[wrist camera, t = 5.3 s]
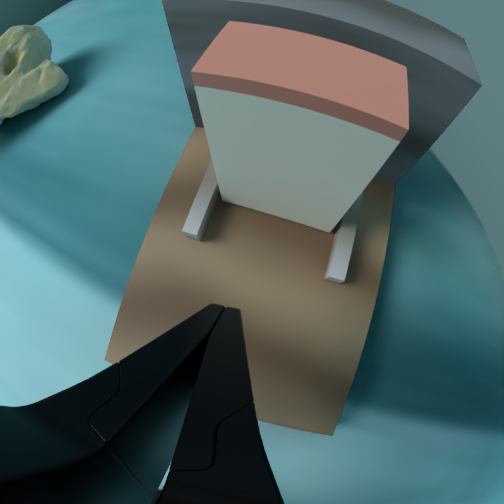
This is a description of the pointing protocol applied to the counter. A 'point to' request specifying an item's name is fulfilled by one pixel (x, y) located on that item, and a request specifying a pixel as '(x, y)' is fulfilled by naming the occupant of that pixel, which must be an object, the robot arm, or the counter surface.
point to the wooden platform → (286, 231)
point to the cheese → (27, 70)
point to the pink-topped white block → (297, 120)
